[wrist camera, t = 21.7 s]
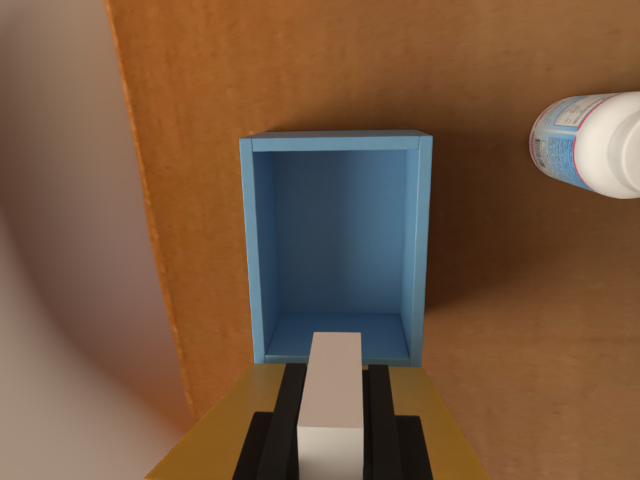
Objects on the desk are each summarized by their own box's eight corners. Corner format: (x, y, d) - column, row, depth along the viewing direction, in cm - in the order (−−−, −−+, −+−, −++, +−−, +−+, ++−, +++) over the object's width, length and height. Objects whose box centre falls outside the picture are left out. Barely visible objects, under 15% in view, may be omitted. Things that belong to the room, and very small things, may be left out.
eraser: (361, 331, 12) (364, 429, 8) (361, 483, 13) (363, 623, 9) (313, 330, 12) (295, 427, 8) (318, 481, 13) (304, 620, 10)
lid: (142, 478, 15) (138, 659, 15) (501, 495, 14) (503, 687, 14) (253, 362, 31) (252, 447, 31) (422, 367, 30) (422, 454, 30)
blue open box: (263, 131, 35) (238, 138, 27) (416, 129, 34) (433, 135, 26) (273, 316, 39) (254, 365, 32) (408, 318, 38) (421, 369, 31)
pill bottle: (596, 185, 34) (708, 221, 23) (516, 171, 34) (590, 201, 23) (625, 102, 32) (760, 100, 22) (540, 88, 32) (632, 79, 22)
